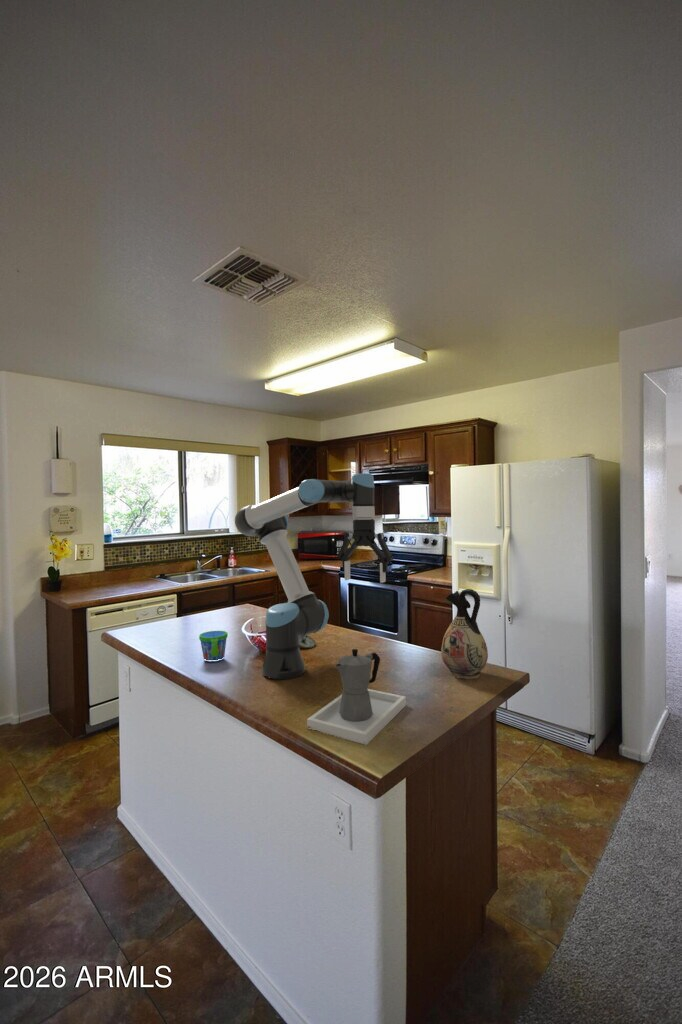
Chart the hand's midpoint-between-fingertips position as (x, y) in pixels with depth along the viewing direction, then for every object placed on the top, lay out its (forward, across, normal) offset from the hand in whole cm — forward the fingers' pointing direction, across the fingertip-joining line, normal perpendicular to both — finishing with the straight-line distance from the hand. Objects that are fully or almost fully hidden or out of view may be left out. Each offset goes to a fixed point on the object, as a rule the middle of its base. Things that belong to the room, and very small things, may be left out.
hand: (364, 580), depth 156 cm
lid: (+33, +39, -19) cm, 55 cm away
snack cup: (+33, +60, +12) cm, 70 cm away
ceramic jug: (+33, -30, -16) cm, 47 cm away
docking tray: (+33, -12, +28) cm, 45 cm away
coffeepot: (+32, -12, +28) cm, 44 cm away
